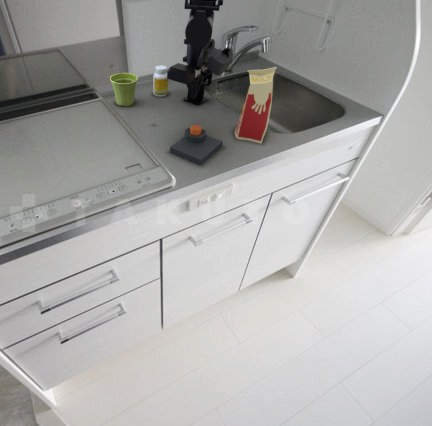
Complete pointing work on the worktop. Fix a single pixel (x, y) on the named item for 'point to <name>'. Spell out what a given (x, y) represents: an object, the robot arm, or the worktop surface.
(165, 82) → the supplement bottle
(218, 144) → the scale
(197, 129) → the button
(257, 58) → the worktop surface
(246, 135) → the red snack bag
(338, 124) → the worktop surface
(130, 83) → the plant pot
